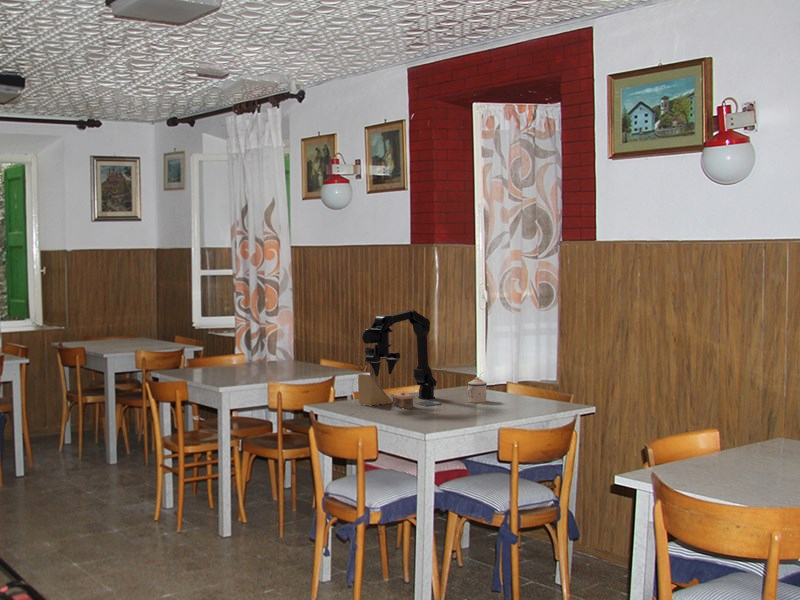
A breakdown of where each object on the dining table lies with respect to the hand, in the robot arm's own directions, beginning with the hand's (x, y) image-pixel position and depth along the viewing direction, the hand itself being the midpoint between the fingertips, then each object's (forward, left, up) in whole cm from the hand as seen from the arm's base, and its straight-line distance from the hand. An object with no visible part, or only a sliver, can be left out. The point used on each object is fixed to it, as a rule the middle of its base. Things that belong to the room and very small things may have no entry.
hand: (383, 375), depth 427 cm
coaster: (-20, +9, -14) cm, 26 cm away
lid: (-6, +9, -10) cm, 14 cm away
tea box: (-6, +9, -14) cm, 17 cm away
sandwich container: (0, -6, -15) cm, 16 cm away
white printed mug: (-42, +16, -14) cm, 47 cm away
